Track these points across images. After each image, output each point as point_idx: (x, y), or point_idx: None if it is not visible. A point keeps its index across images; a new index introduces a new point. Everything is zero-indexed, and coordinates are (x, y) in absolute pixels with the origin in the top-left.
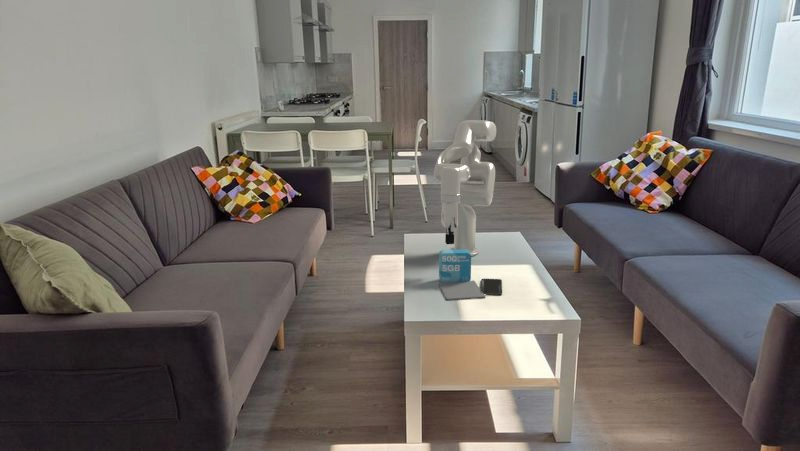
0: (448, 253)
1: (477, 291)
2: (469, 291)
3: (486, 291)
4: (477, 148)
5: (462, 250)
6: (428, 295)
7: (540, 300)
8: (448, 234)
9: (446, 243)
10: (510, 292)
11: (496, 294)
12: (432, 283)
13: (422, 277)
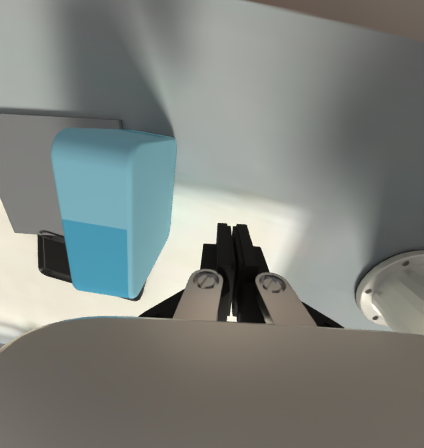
0: (56, 188)
1: (48, 224)
2: (45, 203)
3: (53, 246)
4: None
5: (112, 275)
6: (3, 46)
7: (28, 323)
8: (194, 280)
9: (218, 225)
10: (66, 292)
11: (40, 261)
12: (131, 97)
13: (204, 66)
